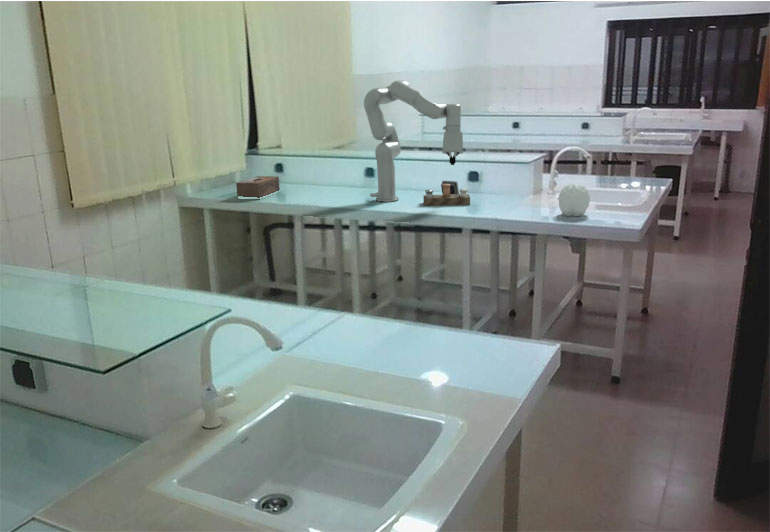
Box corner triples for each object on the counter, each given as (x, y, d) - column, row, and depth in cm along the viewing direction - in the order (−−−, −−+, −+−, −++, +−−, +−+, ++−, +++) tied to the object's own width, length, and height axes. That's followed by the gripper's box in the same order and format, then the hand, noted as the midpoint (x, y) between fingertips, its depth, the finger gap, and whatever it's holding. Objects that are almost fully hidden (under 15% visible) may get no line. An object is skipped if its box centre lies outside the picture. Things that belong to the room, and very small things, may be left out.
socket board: (423, 206, 340) (423, 198, 339) (423, 202, 350) (423, 195, 349) (470, 204, 339) (470, 197, 338) (468, 201, 349) (468, 194, 348)
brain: (556, 229, 311) (556, 204, 298) (560, 202, 321) (559, 176, 308) (588, 230, 306) (588, 204, 293) (590, 202, 317) (591, 176, 304)
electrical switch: (459, 196, 363) (458, 180, 360) (455, 199, 359) (454, 182, 356) (444, 195, 368) (443, 179, 365) (440, 198, 364) (439, 181, 361)
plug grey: (425, 204, 343) (425, 191, 341) (425, 202, 347) (425, 189, 345) (433, 204, 343) (433, 190, 341) (433, 202, 347) (433, 189, 345)
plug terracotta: (442, 198, 342) (442, 185, 340) (442, 197, 346) (442, 183, 344) (450, 198, 342) (450, 185, 340) (450, 196, 346) (450, 183, 344)
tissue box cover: (258, 192, 403) (257, 176, 400) (279, 192, 398) (278, 176, 396) (237, 199, 379) (236, 182, 376) (260, 200, 375) (258, 183, 372)
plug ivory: (459, 203, 342) (459, 190, 340) (459, 202, 346) (459, 188, 344) (467, 203, 342) (467, 189, 340) (467, 201, 346) (467, 188, 344)
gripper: (438, 129, 330) (438, 165, 336) (468, 129, 330) (467, 165, 335) (438, 128, 338) (437, 164, 343) (467, 128, 337) (466, 163, 342)
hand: (452, 164), depth 339 cm, fingers closed
